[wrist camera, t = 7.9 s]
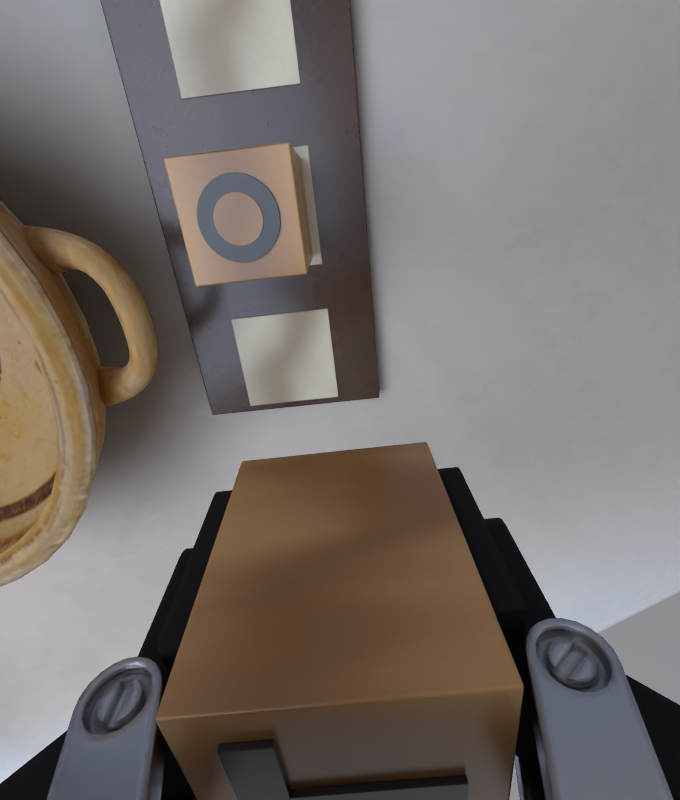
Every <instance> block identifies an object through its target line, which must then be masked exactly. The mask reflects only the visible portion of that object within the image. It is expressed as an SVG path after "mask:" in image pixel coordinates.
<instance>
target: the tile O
mask: <svg viewBox="0 0 680 800" xmlns="http://www.w3.org/2000/svg"><path fill="white" fill-rule="evenodd" d="M164 163H165V167H166V171H167V175H168V179H169V183H170V186H171V190H172V194H173V198H174V202H175V206H176V210H177V214H178V218H179V222H180V226H181V230H182V234H183V238H184V242H185V246H186V250H187V254H188V258H189V262H190V266H191V270H192V274H193V277H194V281H195V285H196V286H197V287H199V286H207V285H216V284H225V283H234V282H242V281H251V280H260V279H269V278H277V277H286V276H295V275H304V274H307V272H308V269H309V266H310V263H311V260H312V257H313V251H312V243H311V235H310V228H309V220H308V212H307V204H306V197H305V189H304V181H303V174H302V166H301V158H300V156H299V155H298V154H297V152H296V151H295V150H294V148H293V147H292V146H291V145H290V143H289V142H285V143H277V144H269V145H261V146H253V147H245V148H237V149H229V150H221V151H213V152H205V153H197V154H189V155H181V156H173V157H165V158H164Z"/></svg>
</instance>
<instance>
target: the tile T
mask: <svg viewBox="0 0 680 800" xmlns="http://www.w3.org/2000/svg"><path fill="white" fill-rule="evenodd" d="M523 690H524V685H523V683H522V680H521V678H520V675H519V673H518V670H517V668H516V665H515V663H514V660H513V657H512V655H511V652H510V650H509V647H508V645H507V642H506V640H505V637H504V635H503V632H502V630H501V627H500V625H499V622H498V620H497V617H496V615H495V612H494V610H493V607H492V605H491V602H490V600H489V597H488V595H487V592H486V590H485V587H484V585H483V582H482V580H481V577H480V575H479V572H478V570H477V567H476V565H475V562H474V560H473V557H472V555H471V552H470V550H469V547H468V545H467V542H466V540H465V537H464V534H463V532H462V529H461V527H460V524H459V522H458V519H457V517H456V514H455V512H454V509H453V507H452V504H451V502H450V499H449V497H448V494H447V492H446V489H445V487H444V484H443V482H442V479H441V477H440V474H439V472H438V469H437V467H436V464H435V462H434V459H433V457H432V454H431V452H430V449H429V447H428V444H427V443H426V442H422V443H412V444H403V445H393V446H384V447H374V448H365V449H355V450H345V451H336V452H326V453H317V454H307V455H298V456H288V457H279V458H269V459H260V460H250V461H243V462H242V463H241V466H240V469H239V472H238V475H237V478H236V481H235V484H234V487H233V490H232V493H231V496H230V499H229V502H228V505H227V508H226V511H225V514H224V517H223V520H222V522H221V525H220V528H219V531H218V534H217V537H216V540H215V543H214V546H213V549H212V552H211V555H210V558H209V561H208V564H207V567H206V570H205V573H204V576H203V579H202V582H201V585H200V588H199V591H198V593H197V596H196V599H195V602H194V605H193V608H192V611H191V614H190V617H189V620H188V623H187V626H186V629H185V632H184V635H183V638H182V641H181V644H180V647H179V650H178V653H177V656H176V659H175V662H174V664H173V667H172V670H171V673H170V676H169V679H168V682H167V685H166V688H165V691H164V694H163V697H162V700H161V703H160V706H159V709H158V712H157V715H156V722H157V724H158V726H159V728H160V730H161V732H162V734H163V736H164V738H165V740H166V741H167V743H168V745H169V747H170V749H171V751H172V753H173V755H174V757H175V759H176V760H177V762H178V764H179V766H180V768H181V770H182V772H183V774H184V776H185V778H186V779H187V781H188V783H189V785H190V787H191V789H192V791H193V793H194V795H195V797H196V798H197V800H509V797H510V789H511V782H512V774H513V766H514V759H515V751H516V743H517V736H518V728H519V721H520V713H521V705H522V698H523Z"/></svg>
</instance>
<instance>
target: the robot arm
mask: <svg viewBox="0 0 680 800" xmlns="http://www.w3.org/2000/svg"><path fill="white" fill-rule="evenodd" d="M438 472H439V474H440V477H441V479H442V482H443V484H444V487H445V489H446V492H447V494H448V497H449V499H450V502H451V504H452V507H453V509H454V512H455V514H456V517H457V519H458V522H459V524H460V527H461V529H462V532H463V534H464V537H465V540H466V542H467V545H468V547H469V550H470V552H471V555H472V557H473V560H474V562H475V565H476V567H477V570H478V572H479V575H480V577H481V580H482V582H483V585H484V587H485V590H486V592H487V595H488V597H489V600H490V602H491V605H492V607H493V610H494V612H495V615H496V617H497V620H498V622H499V625H500V627H501V630H502V632H503V635H504V637H505V640H506V642H507V645H508V647H509V650H510V652H511V655H512V657H513V660H514V663H515V665H516V668H517V670H518V673H519V675H520V678H521V680H522V683H523V685H524V690H523V698H522V705H521V713H520V721H519V728H518V736H517V743H516V751H515V759H514V760H515V767H516V775H517V782H518V790H519V797H520V800H680V705H678V704H677V703H675V702H673V701H671V700H670V699H668V698H666V697H664V696H662V695H661V694H659V693H657V692H655V691H654V690H652V689H650V688H648V687H647V686H645V685H643V684H641V683H639V682H638V681H636V680H634V679H632V678H631V677H629V676H627V675H625V672H624V670H623V667H622V665H621V662H620V660H619V659H618V657H617V655H616V653H615V651H614V649H613V648H612V647H611V646H610V645H609V644H608V643H607V642H606V641H605V639H604V638H603V637H601V636H600V635H599V634H597V633H596V632H595V631H593V630H592V629H590V628H589V627H587V626H584V625H582V624H580V623H578V622H576V621H572V620H567V619H563V618H556V617H555V615H554V614H553V612H552V610H551V608H550V606H549V604H548V602H547V601H546V599H545V597H544V595H543V593H542V591H541V589H540V588H539V586H538V584H537V582H536V580H535V578H534V576H533V575H532V573H531V571H530V569H529V567H528V565H527V563H526V562H525V560H524V558H523V556H522V554H521V552H520V551H519V549H518V547H517V545H516V543H515V541H514V539H513V538H512V536H511V534H510V532H509V530H508V528H507V526H506V525H505V523H504V522H503V520H502V519H500V518H491V519H484V518H483V516H482V514H481V512H480V510H479V508H478V506H477V504H476V502H475V500H474V498H473V496H472V493H471V491H470V489H469V487H468V485H467V483H466V481H465V479H464V477H463V475H462V473H461V471H460V469H459V468H458V467H454V468H444V469H438ZM231 493H232V490H231V491H222V492H216V493H215V495H214V497H213V499H212V502H211V505H210V507H209V510H208V512H207V515H206V517H205V520H204V522H203V525H202V527H201V530H200V533H199V535H198V538H197V540H196V543H195V545H194V548H191V549H186V550H184V551H183V552H182V554H181V556H180V558H179V560H178V563H177V565H176V567H175V570H174V572H173V575H172V577H171V579H170V582H169V584H168V586H167V589H166V591H165V593H164V596H163V598H162V601H161V603H160V605H159V608H158V610H157V612H156V615H155V617H154V620H153V622H152V624H151V627H150V629H149V631H148V634H147V636H146V639H145V641H144V643H143V646H142V648H141V650H140V653H139V655H138V657H133V658H126V659H124V660H122V661H119V662H117V663H115V664H113V665H111V666H110V667H108V668H107V669H105V670H104V671H102V672H101V673H100V674H99V675H98V676H97V677H96V678H95V679H94V680H93V681H92V682H91V683H90V684H89V685H88V686H87V688H86V689H85V690H84V692H83V693H82V695H81V696H80V697H79V700H78V702H77V704H76V706H75V709H74V711H73V714H72V717H71V721H70V724H69V727H68V730H67V731H66V732H65V733H63V734H62V735H61V736H60V737H58V738H57V739H56V740H55V741H53V742H52V743H51V744H50V745H48V746H47V747H46V748H45V749H43V750H42V751H41V752H40V753H38V754H37V755H36V756H34V757H33V758H32V759H31V760H29V761H28V762H27V763H26V764H24V765H23V766H22V767H21V768H19V769H18V770H17V771H16V772H14V773H13V774H12V775H11V776H9V777H8V778H7V779H6V780H4V781H3V782H2V783H1V784H0V800H197V798H196V797H195V795H194V793H193V791H192V789H191V787H190V785H189V783H188V781H187V779H186V778H185V776H184V774H183V772H182V770H181V768H180V766H179V764H178V762H177V760H176V759H175V757H174V755H173V753H172V751H171V749H170V747H169V745H168V743H167V741H166V740H165V738H164V736H163V734H162V732H161V730H160V728H159V726H158V724H157V722H156V715H157V712H158V709H159V706H160V703H161V700H162V697H163V694H164V691H165V688H166V685H167V682H168V679H169V676H170V673H171V670H172V667H173V664H174V662H175V659H176V656H177V653H178V650H179V647H180V644H181V641H182V638H183V635H184V632H185V629H186V626H187V623H188V620H189V617H190V614H191V611H192V608H193V605H194V602H195V599H196V596H197V593H198V591H199V588H200V585H201V582H202V579H203V576H204V573H205V570H206V567H207V564H208V561H209V558H210V555H211V552H212V549H213V546H214V543H215V540H216V537H217V534H218V531H219V528H220V525H221V522H222V520H223V517H224V514H225V511H226V508H227V505H228V502H229V499H230V496H231Z"/></svg>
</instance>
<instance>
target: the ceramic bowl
mask: <svg viewBox="0 0 680 800" xmlns="http://www.w3.org/2000/svg"><path fill="white" fill-rule="evenodd" d="M69 270H80V271H83V272H84V273H86V274H88V275H89V276H90V277H92V278H93V279H94V280H95V281H96V282H97V283H98V284H99V285H100V286H101V287H102V289H103V290H104V291H105V293H106V295H107V296H108V298H109V300H110V302H111V304H112V305H113V307H114V309H115V312H116V314H117V317H118V319H119V321H120V324H121V326H122V329H123V331H124V334H125V337H126V340H127V343H128V347H129V361H128V363H127V365H126V366H123V367H109V366H102V365H101V362H100V358H99V355H98V352H97V349H96V346H95V343H94V341H93V338H92V335H91V332H90V329H89V326H88V323H87V321H86V318H85V316H84V314H83V313H82V311H81V309H80V307H79V305H78V303H77V301H76V299H75V298H74V296H73V294H72V292H71V290H70V288H69V286H68V284H67V283H66V281H65V279H64V277H63V275H62V274H61V273H64V272H66V271H69ZM158 354H159V350H158V342H157V338H156V333H155V329H154V326H153V323H152V319H151V316H150V314H149V311H148V309H147V307H146V304H145V302H144V300H143V298H142V296H141V294H140V292H139V290H138V288H137V286H136V284H135V282H134V281H133V279H132V278H131V276H130V275H129V273H128V272H127V271H126V269H125V268H124V267H123V266H122V265H121V264H120V263H119V262H118V261H117V260H116V259H115V258H114V257H113V256H112V255H110V254H109V253H108V252H107V251H105V250H104V249H102V248H101V247H99V246H98V245H96V244H94V243H92V242H90V241H88V240H87V239H85V238H83V237H80V236H78V235H75V234H72V233H68V232H65V231H61V230H57V229H52V228H46V227H38V226H25V225H24V224H23V223H22V222H21V221H20V220H19V219H18V218H17V217H16V216H15V215H14V214H13V213H12V212H11V211H10V210H9V209H8V207H7V206H6V205H5V204H4V203H3V202H2V201H1V200H0V586H3V585H5V584H8V583H10V582H13V581H15V580H18V579H20V578H21V577H23V576H24V575H26V574H28V573H29V572H31V571H32V570H34V569H35V568H37V567H38V566H40V565H41V564H43V563H44V562H46V561H47V560H48V559H49V558H50V557H51V556H52V555H53V554H54V553H55V552H56V551H57V550H58V549H59V548H60V547H61V546H62V545H63V543H64V542H65V541H66V540H67V539H68V538H69V537H70V535H71V534H72V532H73V530H74V528H75V526H76V525H77V523H78V521H79V519H80V518H81V516H82V514H83V512H84V511H85V509H86V505H87V502H88V498H89V494H90V491H91V487H92V483H93V480H94V476H95V473H96V470H97V466H98V462H99V459H100V455H101V451H102V447H103V444H104V440H105V418H106V407H107V406H112V405H115V404H118V403H121V402H123V401H126V400H128V399H130V398H132V397H134V396H135V395H137V394H138V393H140V392H141V391H142V390H143V389H144V388H145V387H147V385H148V384H149V383H150V381H151V380H152V378H153V376H154V374H155V371H156V369H157V363H158Z"/></svg>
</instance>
